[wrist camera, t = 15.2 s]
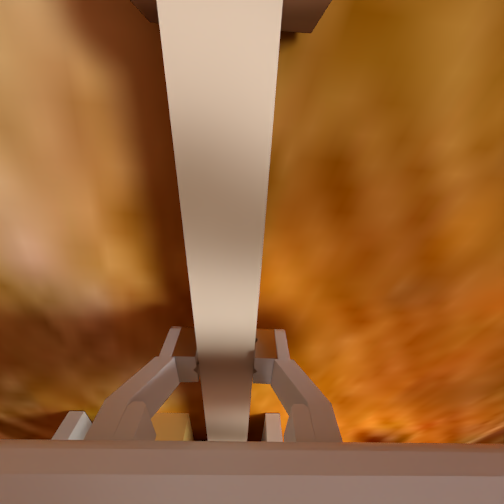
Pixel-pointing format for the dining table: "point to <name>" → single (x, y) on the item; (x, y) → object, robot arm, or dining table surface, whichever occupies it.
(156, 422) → the ochre cube
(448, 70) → the dining table surface
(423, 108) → the dining table surface
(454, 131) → the dining table surface
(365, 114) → the dining table surface
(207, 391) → the pale grey hook
